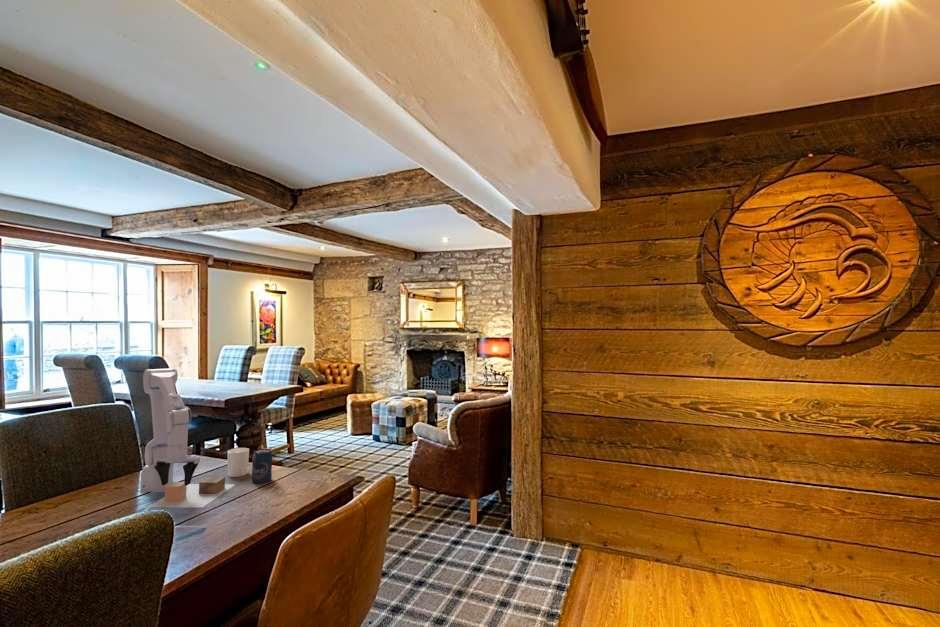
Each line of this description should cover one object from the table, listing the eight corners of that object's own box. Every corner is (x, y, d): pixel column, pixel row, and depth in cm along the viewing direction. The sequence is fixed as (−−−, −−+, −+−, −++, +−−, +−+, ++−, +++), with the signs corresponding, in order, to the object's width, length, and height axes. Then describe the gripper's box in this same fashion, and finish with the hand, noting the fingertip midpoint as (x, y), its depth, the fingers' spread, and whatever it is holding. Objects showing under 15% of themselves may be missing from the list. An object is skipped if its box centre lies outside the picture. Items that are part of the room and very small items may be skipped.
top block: (164, 501, 152) (165, 486, 152) (173, 496, 156) (173, 482, 156) (178, 501, 152) (178, 486, 152) (186, 496, 156) (186, 482, 157)
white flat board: (146, 508, 147) (146, 506, 147) (186, 485, 169) (186, 483, 169) (202, 509, 147) (202, 507, 147) (235, 485, 169) (235, 484, 169)
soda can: (249, 486, 169) (251, 453, 170) (253, 480, 176) (254, 449, 176) (269, 484, 171) (270, 452, 172) (272, 478, 178) (273, 448, 178)
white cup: (252, 472, 185) (253, 448, 185) (240, 479, 177) (241, 453, 177) (234, 471, 186) (235, 447, 186) (222, 478, 178) (222, 452, 178)
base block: (198, 493, 159) (199, 482, 159) (208, 487, 165) (208, 476, 165) (215, 494, 159) (216, 482, 160) (224, 488, 165) (225, 477, 166)
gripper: (148, 447, 151) (146, 488, 150) (192, 447, 151) (190, 488, 150) (162, 441, 158) (160, 481, 157) (204, 442, 158) (202, 481, 157)
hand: (176, 484), depth 154 cm, fingers open, 7 cm apart
